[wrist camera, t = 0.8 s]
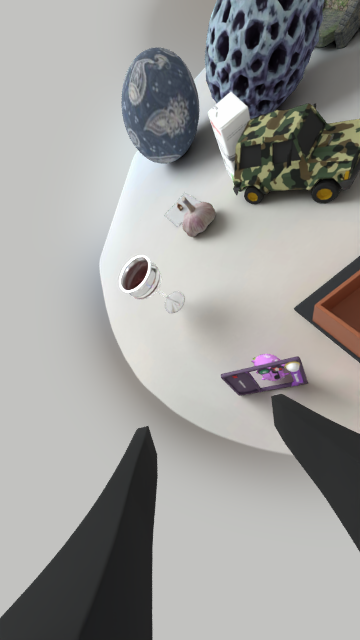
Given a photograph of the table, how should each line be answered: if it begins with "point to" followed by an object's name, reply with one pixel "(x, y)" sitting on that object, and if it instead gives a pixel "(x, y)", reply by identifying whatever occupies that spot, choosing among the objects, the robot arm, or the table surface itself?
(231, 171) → the ink box
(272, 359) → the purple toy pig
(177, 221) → the white tile
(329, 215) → the table surface
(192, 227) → the garlic bulb
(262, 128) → the toy car
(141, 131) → the decorative ball
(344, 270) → the mat
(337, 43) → the archway
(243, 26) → the decorative object
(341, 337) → the bin
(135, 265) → the wineglass
